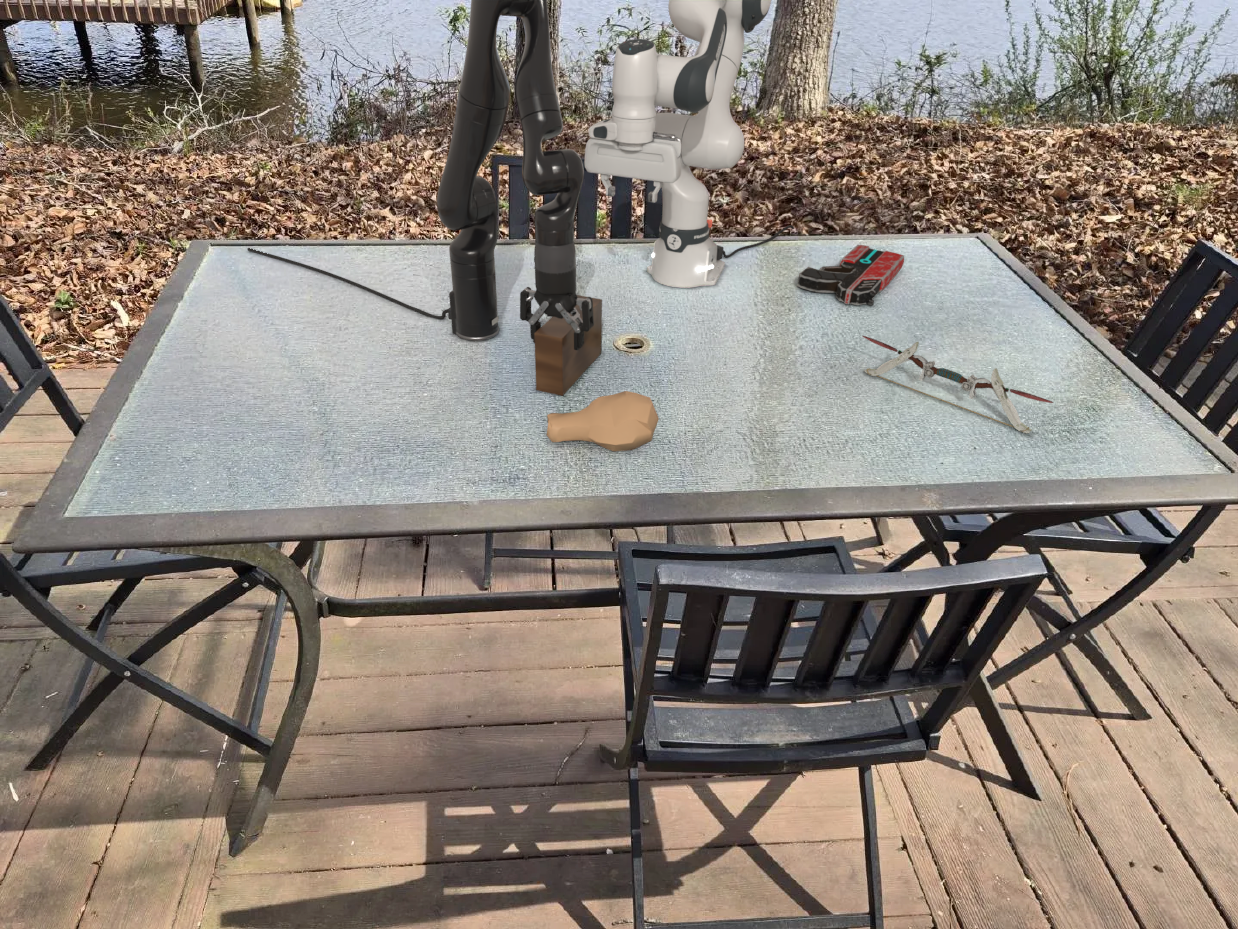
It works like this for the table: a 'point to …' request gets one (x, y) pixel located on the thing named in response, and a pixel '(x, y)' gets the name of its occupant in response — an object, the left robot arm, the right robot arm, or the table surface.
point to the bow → (967, 384)
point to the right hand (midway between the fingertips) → (631, 198)
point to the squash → (608, 422)
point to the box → (565, 351)
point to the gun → (854, 275)
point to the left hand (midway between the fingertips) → (557, 344)
